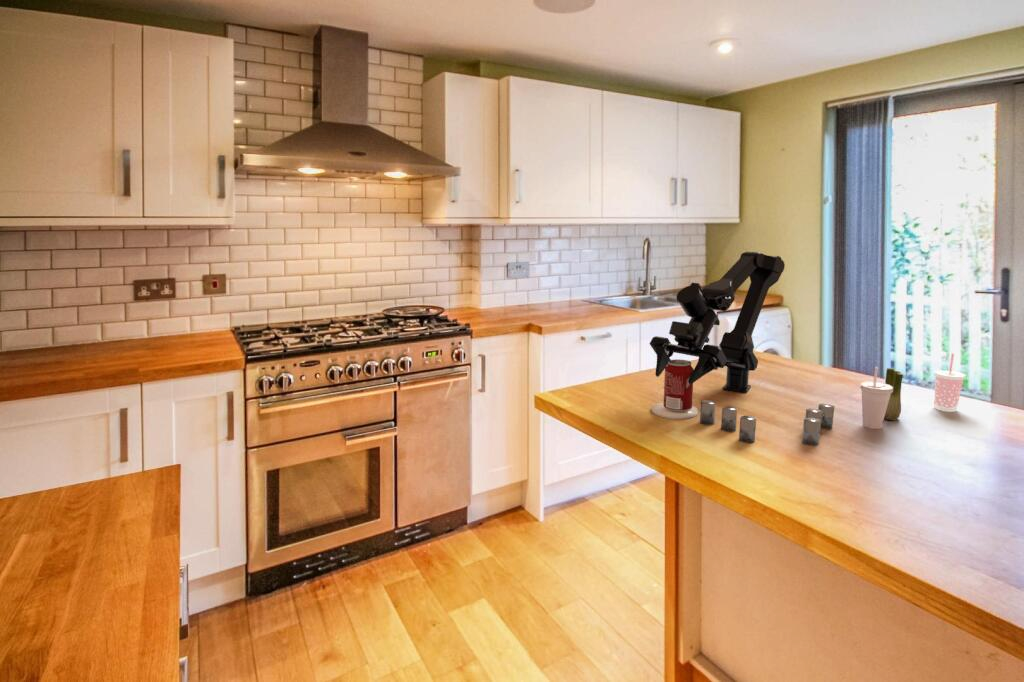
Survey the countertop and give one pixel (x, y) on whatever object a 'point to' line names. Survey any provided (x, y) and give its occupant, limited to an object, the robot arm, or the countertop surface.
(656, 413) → the coaster
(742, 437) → the spacer field
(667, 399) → the soda can
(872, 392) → the smoothie
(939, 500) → the countertop surface
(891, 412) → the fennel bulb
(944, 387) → the beverage cup
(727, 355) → the robot arm
